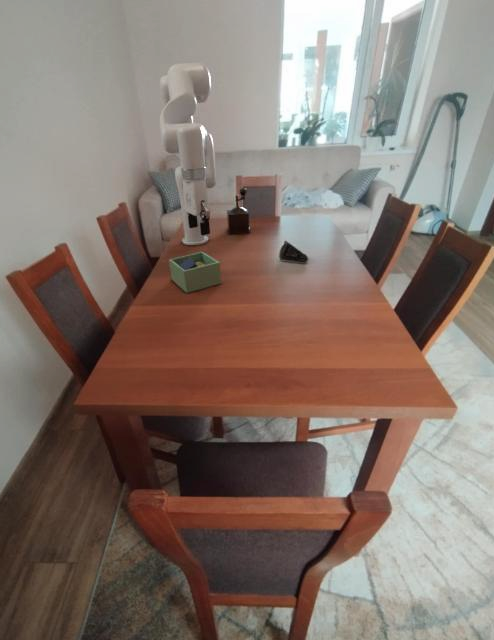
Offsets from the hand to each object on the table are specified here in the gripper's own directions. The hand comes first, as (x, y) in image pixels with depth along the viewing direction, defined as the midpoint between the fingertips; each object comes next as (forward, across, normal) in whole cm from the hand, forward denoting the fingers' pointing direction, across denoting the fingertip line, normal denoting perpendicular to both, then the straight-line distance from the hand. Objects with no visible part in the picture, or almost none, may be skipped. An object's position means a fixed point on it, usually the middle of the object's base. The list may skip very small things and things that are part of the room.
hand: (199, 230), depth 114 cm
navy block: (+12, +5, -6) cm, 14 cm away
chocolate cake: (+17, +7, +38) cm, 42 cm away
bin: (+16, +3, -5) cm, 17 cm away
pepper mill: (+18, -43, +41) cm, 62 cm away
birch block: (+16, +1, -3) cm, 16 cm away
